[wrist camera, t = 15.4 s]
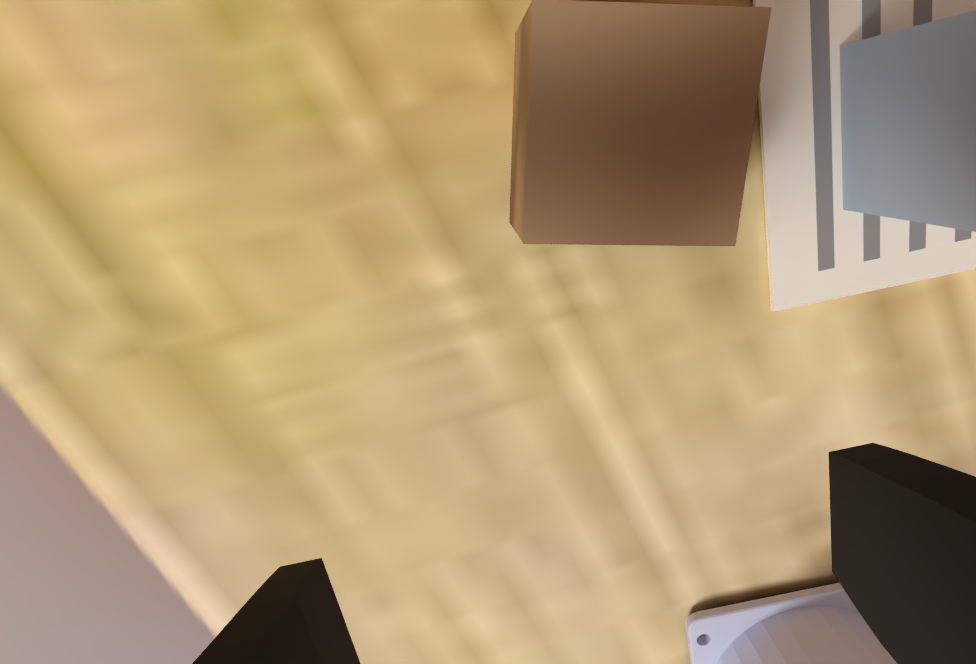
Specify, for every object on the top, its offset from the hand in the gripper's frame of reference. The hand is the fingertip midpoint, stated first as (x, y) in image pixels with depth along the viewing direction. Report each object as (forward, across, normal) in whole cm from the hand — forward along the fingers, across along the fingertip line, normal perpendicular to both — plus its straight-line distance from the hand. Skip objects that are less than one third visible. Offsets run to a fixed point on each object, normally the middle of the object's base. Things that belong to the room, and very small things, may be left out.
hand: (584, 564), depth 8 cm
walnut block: (+11, -4, -5) cm, 12 cm away
